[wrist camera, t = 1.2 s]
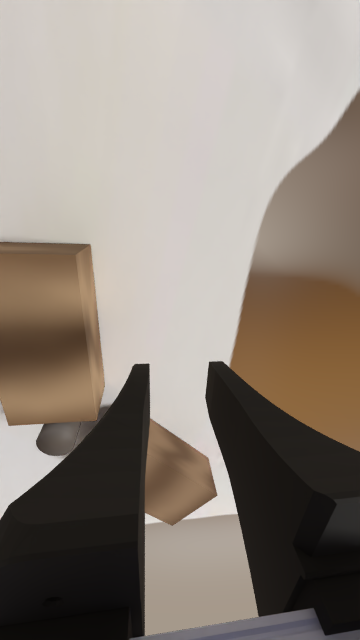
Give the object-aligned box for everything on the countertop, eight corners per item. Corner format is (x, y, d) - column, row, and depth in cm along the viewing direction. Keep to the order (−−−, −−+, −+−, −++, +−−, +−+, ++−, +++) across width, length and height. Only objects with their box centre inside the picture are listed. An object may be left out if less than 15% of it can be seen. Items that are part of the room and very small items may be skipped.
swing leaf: (107, 410, 23) (99, 452, 19) (38, 414, 23) (15, 458, 19) (90, 244, 17) (73, 256, 13) (-5, 241, 16) (-54, 253, 12)
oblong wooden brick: (208, 457, 28) (217, 495, 24) (169, 485, 29) (172, 525, 25) (126, 402, 23) (123, 438, 20) (84, 438, 25) (73, 478, 21)
